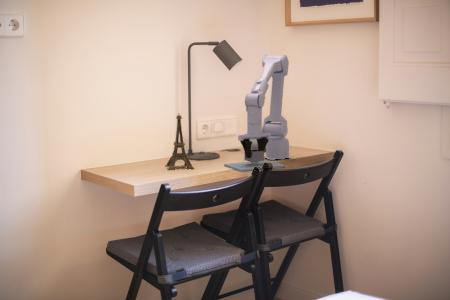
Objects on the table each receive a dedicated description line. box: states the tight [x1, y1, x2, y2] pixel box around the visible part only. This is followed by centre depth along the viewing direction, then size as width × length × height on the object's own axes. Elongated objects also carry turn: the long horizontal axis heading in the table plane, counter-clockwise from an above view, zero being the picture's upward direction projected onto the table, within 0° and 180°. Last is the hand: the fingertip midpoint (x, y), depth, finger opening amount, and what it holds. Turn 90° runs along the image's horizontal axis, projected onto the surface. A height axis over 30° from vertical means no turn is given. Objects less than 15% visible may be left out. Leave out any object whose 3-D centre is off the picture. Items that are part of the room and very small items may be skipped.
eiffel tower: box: [164, 114, 195, 171], centre depth 267 cm, size 11×11×25 cm
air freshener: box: [250, 137, 266, 152], centre depth 309 cm, size 11×8×10 cm
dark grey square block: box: [244, 149, 265, 162], centre depth 270 cm, size 6×6×4 cm
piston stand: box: [224, 159, 286, 173], centre depth 270 cm, size 20×14×5 cm
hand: (254, 157), depth 270 cm, fingers closed on dark grey square block, 6 cm apart
